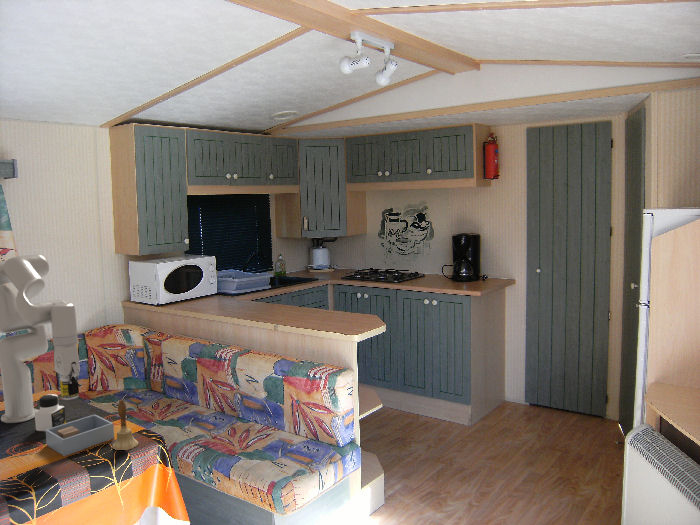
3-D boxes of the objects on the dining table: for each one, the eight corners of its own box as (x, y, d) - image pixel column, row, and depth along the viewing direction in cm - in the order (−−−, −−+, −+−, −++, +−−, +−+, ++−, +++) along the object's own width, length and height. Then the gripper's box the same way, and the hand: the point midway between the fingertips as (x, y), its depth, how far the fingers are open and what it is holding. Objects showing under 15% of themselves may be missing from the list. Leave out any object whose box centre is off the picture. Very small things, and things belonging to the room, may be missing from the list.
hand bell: (112, 453, 194) (109, 406, 192) (111, 443, 202) (108, 398, 200) (139, 448, 197) (136, 402, 195) (137, 438, 205) (134, 394, 203)
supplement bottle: (61, 401, 198) (58, 373, 197) (61, 396, 203) (58, 368, 202) (79, 398, 200) (76, 370, 199) (78, 393, 205) (76, 366, 204)
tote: (46, 445, 201) (45, 429, 200) (95, 428, 214) (94, 414, 213) (64, 456, 193) (62, 440, 192) (114, 438, 205) (113, 423, 205)
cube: (58, 445, 200) (57, 430, 199) (73, 440, 204) (72, 426, 203) (65, 449, 197) (63, 434, 196) (79, 443, 200) (78, 429, 200)
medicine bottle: (53, 432, 212) (50, 400, 210) (35, 431, 213) (32, 398, 212) (66, 424, 219) (63, 393, 217) (49, 423, 220) (46, 392, 219)
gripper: (43, 338, 202) (48, 389, 204) (64, 346, 191) (69, 401, 193) (66, 334, 208) (70, 384, 210) (87, 341, 196) (92, 394, 198)
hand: (70, 391), depth 201 cm, fingers closed on supplement bottle, 5 cm apart
